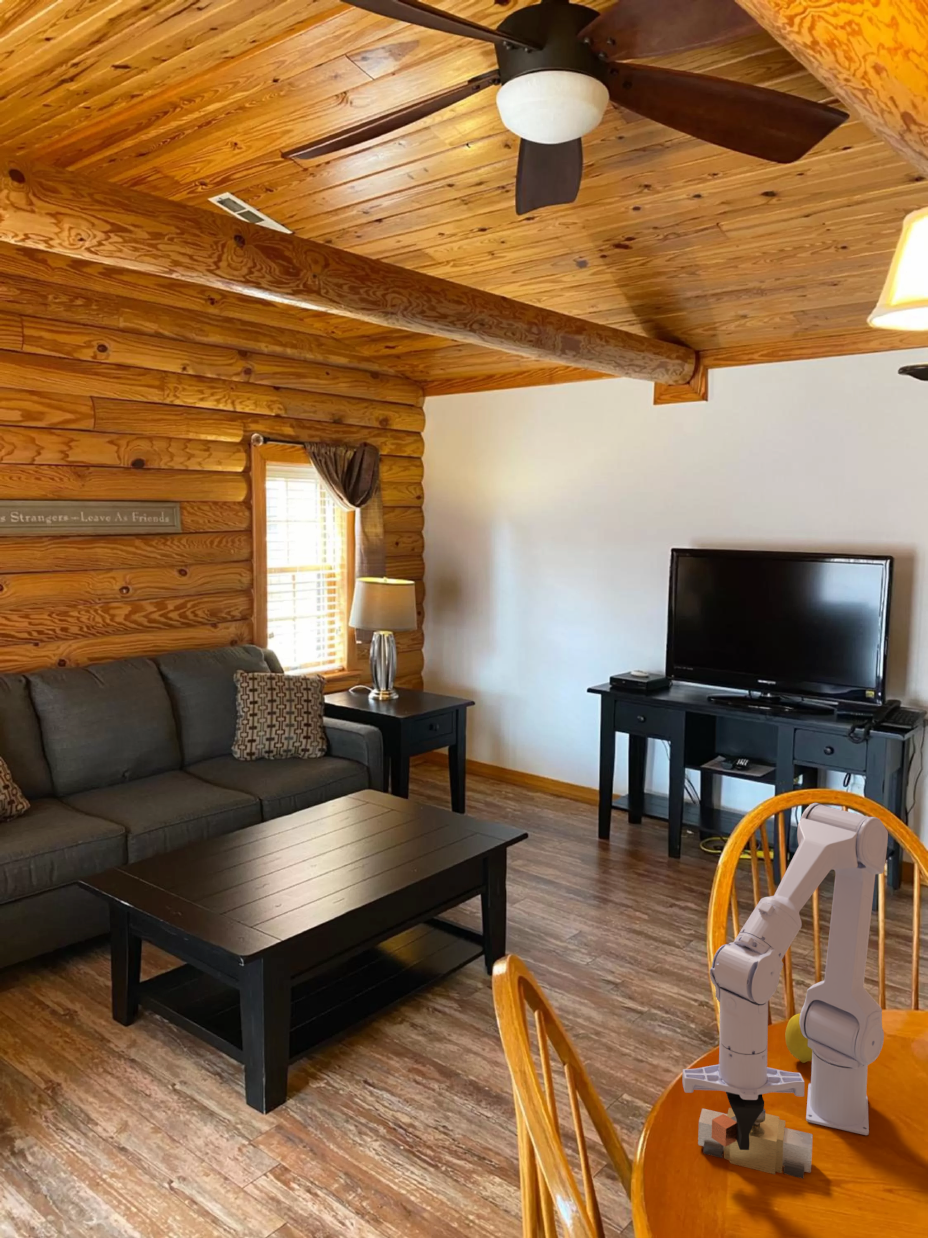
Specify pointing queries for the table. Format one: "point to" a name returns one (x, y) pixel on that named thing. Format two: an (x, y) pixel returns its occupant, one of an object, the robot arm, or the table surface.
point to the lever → (728, 1128)
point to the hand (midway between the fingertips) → (741, 1145)
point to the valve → (762, 1146)
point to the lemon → (797, 1040)
